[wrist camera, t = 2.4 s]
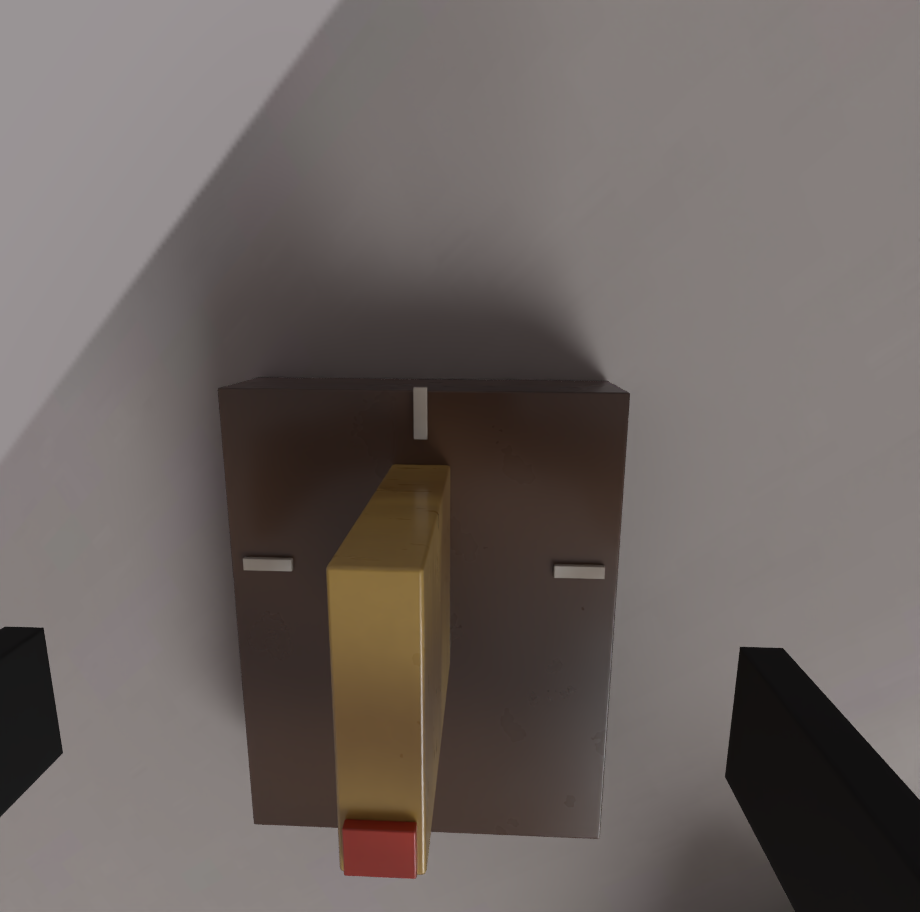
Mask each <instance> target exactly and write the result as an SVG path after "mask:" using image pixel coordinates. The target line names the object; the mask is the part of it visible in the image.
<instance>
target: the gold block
mask: <svg viewBox="0 0 920 912" xmlns="http://www.w3.org/2000/svg"><path fill="white" fill-rule="evenodd" d="M326 580H327V602H328V623H329V645H330V666H331V687H332V709H333V730H334V752H335V773H336V795H337V816H338V837H339V859H340V869H341V870H342V871H344V875H346V876H367V877H389V878H411V879H415V878H416V877H417V875H422V874H425V872H426V870H427V861H428V853H429V844H430V835H431V826H432V817H433V808H434V799H435V790H436V782H437V773H438V764H439V755H440V746H441V737H442V728H443V719H444V710H445V702H446V693H447V684H448V675H449V666H450V466H448V465H401V464H394V465H392V466H391V468H390V469H389V471H388V473H387V474H386V476H385V477H384V479H383V480H382V482H381V483H380V485H379V486H378V488H377V490H376V491H375V493H374V494H373V496H372V497H371V499H370V500H369V502H368V504H367V505H366V507H365V508H364V510H363V511H362V513H361V514H360V516H359V517H358V519H357V521H356V522H355V524H354V525H353V527H352V528H351V530H350V531H349V533H348V535H347V536H346V538H345V539H344V541H343V542H342V544H341V545H340V547H339V548H338V550H337V552H336V553H335V555H334V556H333V558H332V559H331V561H330V562H329V564H328V566H327V568H326Z"/></svg>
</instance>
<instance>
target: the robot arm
mask: <svg viewBox="0 0 920 912" xmlns="http://www.w3.org/2000/svg"><path fill="white" fill-rule="evenodd" d="M62 753H63V751H62V744H61V738H60V731H59V725H58V718H57V712H56V705H55V699H54V693H53V686H52V680H51V673H50V667H49V660H48V654H47V647H46V641H45V634H44V628H33V627H4V628H2V629H0V817H1V816H2V815H3V814H4V813H5V812H6V810H7V809H8V808H9V807H10V806H11V805H12V804H13V803H14V802H15V801H16V800H17V799H18V798H19V797H20V796H21V795H22V794H23V793H24V792H25V791H26V790H27V789H28V788H29V787H30V786H31V785H32V784H33V783H34V782H35V781H36V780H37V779H38V778H39V777H40V776H41V775H42V774H43V773H44V772H45V771H46V770H47V769H48V768H49V767H50V766H51V765H52V764H53V763H54V762H55V760H56V759H57V758H58V757H59V756H60V755H61V754H62ZM725 778H726V780H727V782H728V784H729V785H730V787H731V789H732V791H733V793H734V795H735V797H736V799H737V801H738V803H739V805H740V807H741V808H742V810H743V812H744V814H745V816H746V818H747V820H748V822H749V824H750V826H751V828H752V830H753V832H754V833H755V835H756V837H757V839H758V841H759V843H760V845H761V847H762V849H763V851H764V853H765V855H766V856H767V858H768V860H769V862H770V864H771V866H772V868H773V870H774V872H775V874H776V876H777V878H778V880H779V881H780V883H781V885H782V887H783V889H784V891H785V893H786V895H787V897H788V899H789V901H790V903H791V905H792V906H793V908H794V910H795V912H920V800H919V799H918V798H917V796H916V795H915V794H914V793H913V792H912V791H911V790H910V789H909V788H908V786H907V785H906V784H905V783H904V782H903V781H902V780H901V779H900V778H899V776H898V775H897V774H896V773H895V772H894V771H893V770H892V769H891V768H890V766H889V765H888V764H887V763H886V762H885V761H884V760H883V759H882V758H881V756H880V755H879V754H878V753H877V752H876V751H875V750H874V749H873V748H872V747H871V745H870V744H869V743H868V742H867V741H866V740H865V739H864V738H863V737H862V735H861V734H860V733H859V732H858V731H857V730H856V729H855V728H854V727H853V725H852V724H851V723H850V722H849V721H848V720H847V719H846V718H845V717H844V715H843V714H842V713H841V712H840V711H839V710H838V709H837V708H836V707H835V705H834V704H833V703H832V702H831V701H830V700H829V699H828V698H827V697H826V695H825V694H824V693H823V692H822V691H821V690H820V689H819V688H818V687H817V685H816V684H815V683H814V682H813V681H812V680H811V679H810V678H809V677H808V675H807V674H806V673H805V672H804V671H803V670H802V669H801V668H800V667H799V666H798V664H797V663H796V662H795V661H794V660H793V659H792V658H791V657H790V656H789V654H788V653H787V652H786V651H785V650H784V649H783V648H760V647H740V652H739V661H738V670H737V678H736V687H735V695H734V704H733V713H732V721H731V730H730V739H729V747H728V756H727V764H726V773H725Z"/></svg>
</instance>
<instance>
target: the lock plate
mask: <svg viewBox="0 0 920 912" xmlns="http://www.w3.org/2000/svg"><path fill="white" fill-rule="evenodd" d="M218 397H219V409H220V421H221V433H222V445H223V457H224V469H225V481H226V493H227V505H228V517H229V529H230V541H231V553H232V565H233V577H234V589H235V601H236V613H237V625H238V637H239V649H240V661H241V673H242V685H243V697H244V709H245V721H246V733H247V745H248V757H249V769H250V781H251V793H252V806H253V818H254V824H262V825H286V826H309V827H332V828H338V816H337V795H336V773H335V752H334V730H333V709H332V687H331V666H330V645H329V623H328V602H327V580H326V568H327V566H328V564H329V562H330V561H331V559H332V558H333V556H334V555H335V553H336V552H337V550H338V548H339V547H340V545H341V544H342V542H343V541H344V539H345V538H346V536H347V535H348V533H349V531H350V530H351V528H352V527H353V525H354V524H355V522H356V521H357V519H358V517H359V516H360V514H361V513H362V511H363V510H364V508H365V507H366V505H367V504H368V502H369V500H370V499H371V497H372V496H373V494H374V493H375V491H376V490H377V488H378V486H379V485H380V483H381V482H382V480H383V479H384V477H385V476H386V474H387V473H388V471H389V469H390V468H391V466H392V465H394V464H401V465H448V466H450V666H449V675H448V684H447V693H446V702H445V710H444V719H443V728H442V737H441V746H440V755H439V764H438V773H437V782H436V790H435V799H434V808H433V817H432V826H431V832H449V833H473V834H496V835H519V836H543V837H566V838H590V839H599V838H600V826H601V811H602V796H603V782H604V767H605V752H606V738H607V723H608V708H609V694H610V679H611V664H612V650H613V635H614V620H615V606H616V591H617V576H618V562H619V547H620V532H621V518H622V503H623V488H624V474H625V459H626V444H627V430H628V415H629V400H630V393H628V392H627V391H625V390H623V389H621V388H619V387H618V386H616V385H614V384H612V383H610V382H609V381H570V380H473V379H377V378H280V377H258V378H254V379H251V380H247V381H243V382H240V383H236V384H232V385H228V386H225V387H221V388H218Z"/></svg>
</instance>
